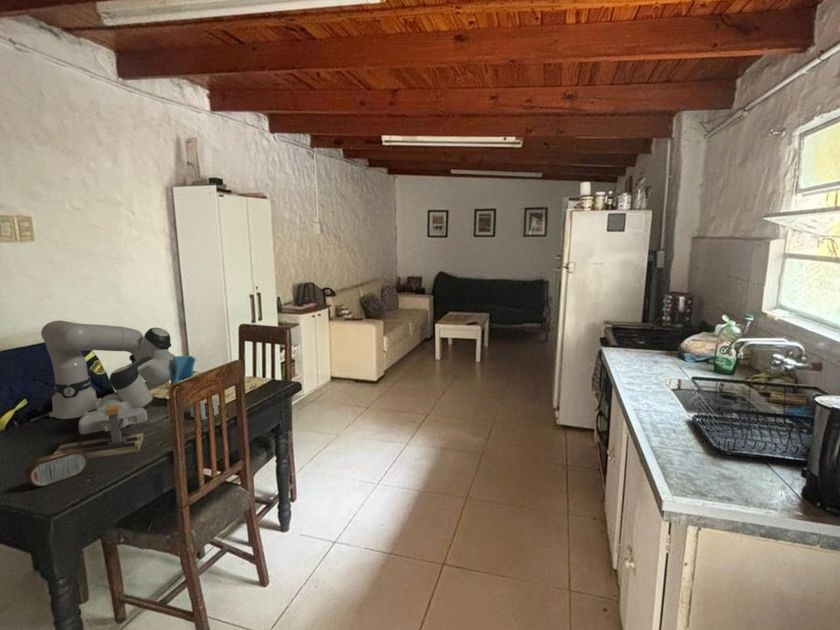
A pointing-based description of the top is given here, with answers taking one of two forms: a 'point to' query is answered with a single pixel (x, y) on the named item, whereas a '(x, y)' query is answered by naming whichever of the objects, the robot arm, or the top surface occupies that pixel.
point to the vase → (182, 368)
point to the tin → (56, 467)
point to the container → (203, 408)
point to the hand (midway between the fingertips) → (115, 427)
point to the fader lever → (115, 425)
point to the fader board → (105, 446)
